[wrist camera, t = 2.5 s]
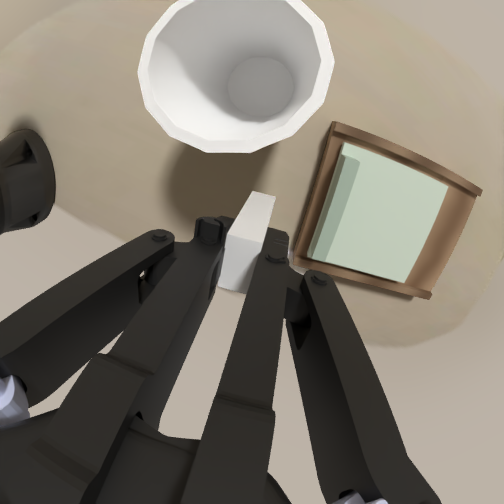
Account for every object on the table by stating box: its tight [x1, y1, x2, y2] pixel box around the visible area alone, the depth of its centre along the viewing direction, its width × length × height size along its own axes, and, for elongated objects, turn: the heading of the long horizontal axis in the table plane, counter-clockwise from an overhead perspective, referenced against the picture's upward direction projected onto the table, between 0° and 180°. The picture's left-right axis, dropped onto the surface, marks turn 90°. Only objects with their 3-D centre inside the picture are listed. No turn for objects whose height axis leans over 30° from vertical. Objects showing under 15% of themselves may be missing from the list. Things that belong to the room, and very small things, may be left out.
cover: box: [307, 142, 448, 283], centre depth 22 cm, size 11×11×3 cm
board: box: [293, 121, 483, 300], centre depth 24 cm, size 17×14×3 cm
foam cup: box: [138, 0, 335, 153], centre depth 15 cm, size 10×9×13 cm
